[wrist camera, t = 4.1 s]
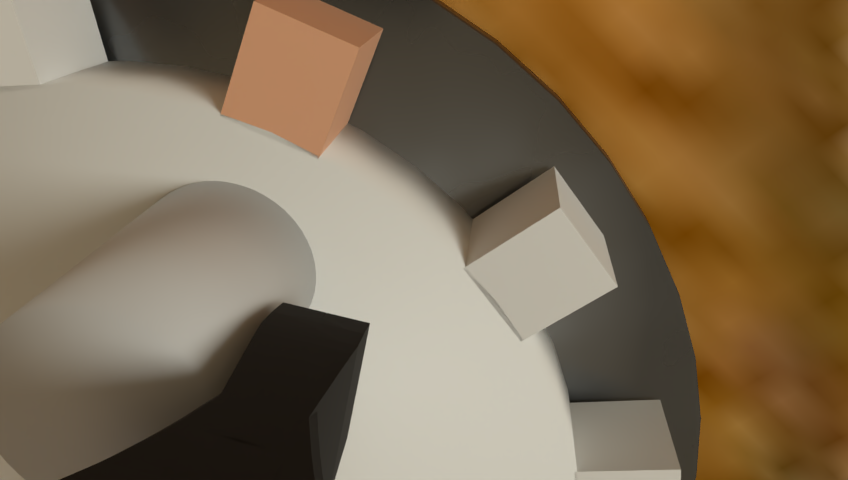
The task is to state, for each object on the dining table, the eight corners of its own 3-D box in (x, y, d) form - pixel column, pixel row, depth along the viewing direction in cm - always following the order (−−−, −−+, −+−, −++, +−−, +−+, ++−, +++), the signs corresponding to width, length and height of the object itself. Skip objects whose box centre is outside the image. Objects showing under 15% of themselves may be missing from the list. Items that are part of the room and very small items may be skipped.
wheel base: (395, 827, 22) (386, 890, 21) (-347, 487, 20) (-414, 531, 19) (941, 297, 13) (993, 343, 12) (-283, -430, 11) (-404, -484, 10)
